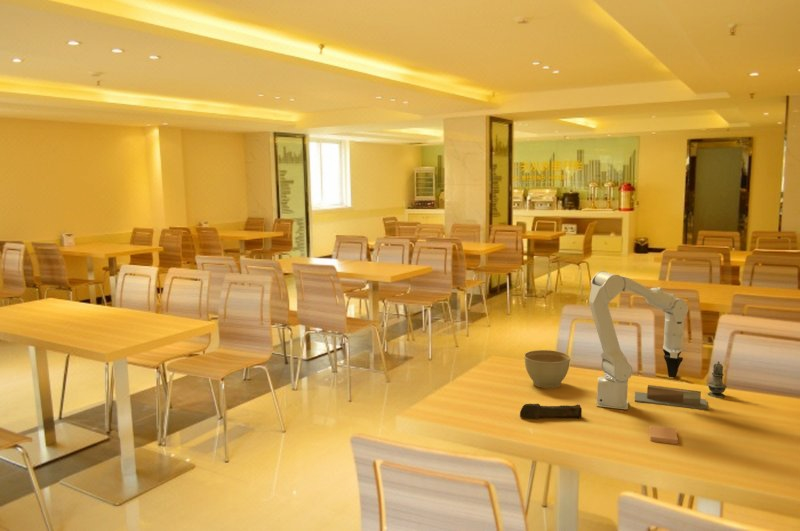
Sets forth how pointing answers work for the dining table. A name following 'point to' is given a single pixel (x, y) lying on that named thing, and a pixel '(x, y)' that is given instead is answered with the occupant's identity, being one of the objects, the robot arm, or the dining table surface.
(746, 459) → the dining table surface
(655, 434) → the tile
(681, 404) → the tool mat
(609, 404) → the robot arm
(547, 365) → the planter bowl
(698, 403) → the two-tone flat stick
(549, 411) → the hand tool
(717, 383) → the salt shaker
